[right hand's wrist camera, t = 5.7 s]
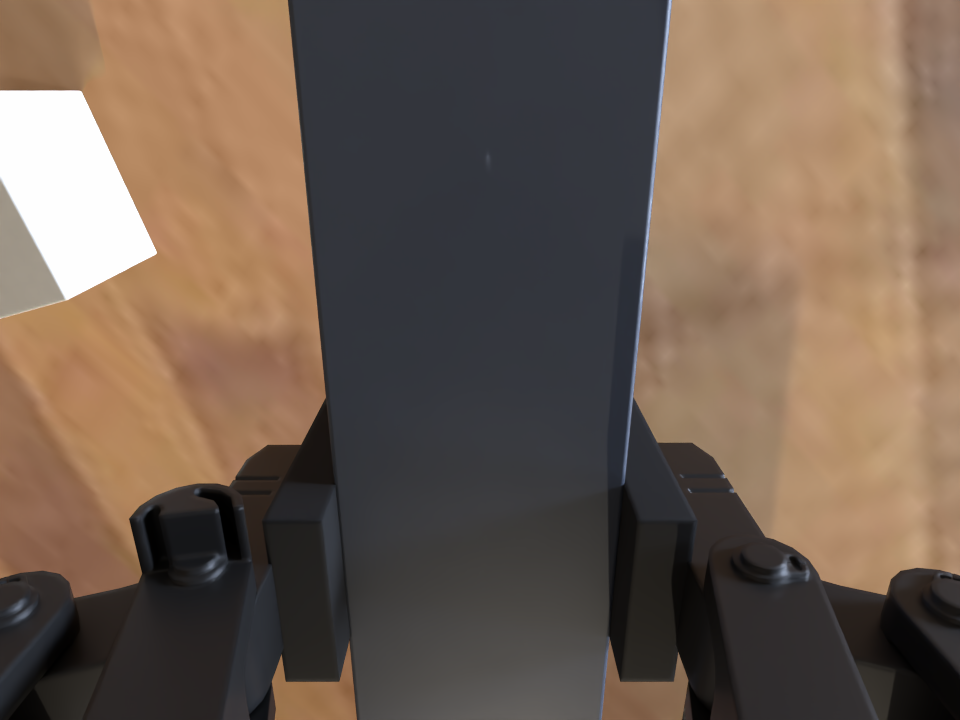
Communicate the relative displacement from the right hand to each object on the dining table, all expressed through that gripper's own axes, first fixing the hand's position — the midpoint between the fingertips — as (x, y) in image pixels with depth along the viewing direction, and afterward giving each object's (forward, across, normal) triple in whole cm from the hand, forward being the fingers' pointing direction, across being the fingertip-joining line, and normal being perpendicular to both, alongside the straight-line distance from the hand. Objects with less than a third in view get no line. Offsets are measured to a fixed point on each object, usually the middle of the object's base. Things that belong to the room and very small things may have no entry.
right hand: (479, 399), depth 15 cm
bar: (0, 0, -8) cm, 8 cm away
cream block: (+7, +13, -4) cm, 15 cm away
